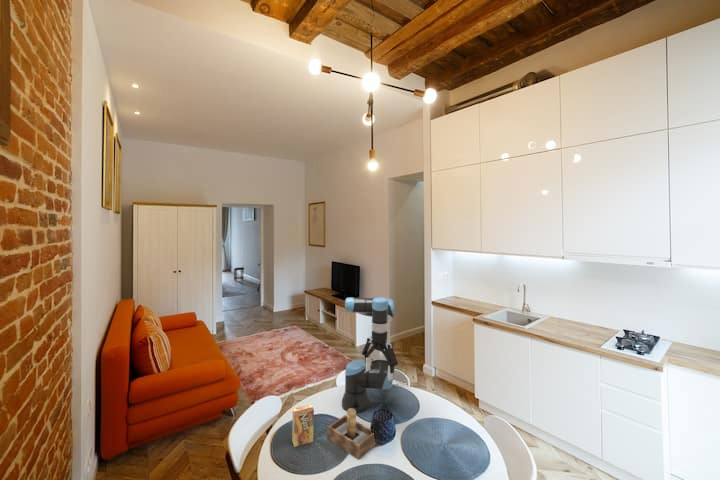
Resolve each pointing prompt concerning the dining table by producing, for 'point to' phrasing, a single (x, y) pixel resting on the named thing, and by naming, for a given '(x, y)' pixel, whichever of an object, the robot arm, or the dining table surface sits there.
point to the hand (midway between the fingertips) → (378, 374)
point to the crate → (354, 447)
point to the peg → (351, 423)
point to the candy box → (302, 425)
